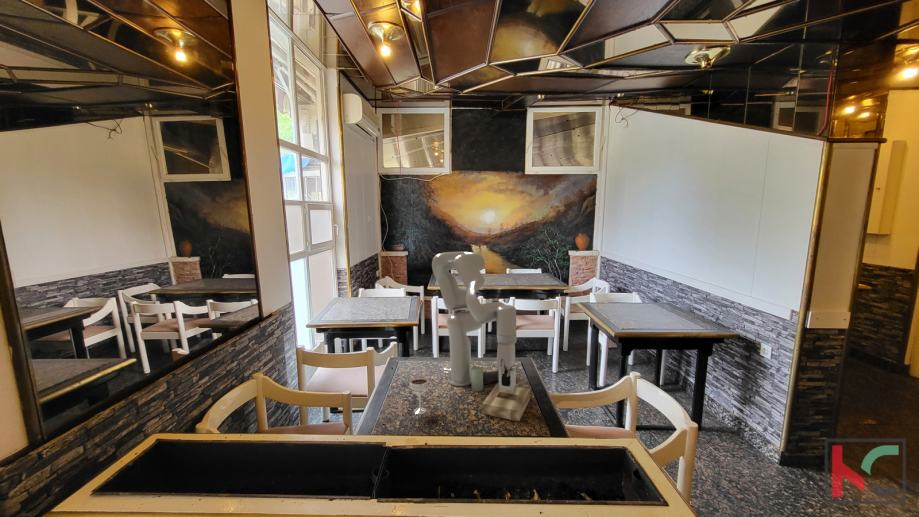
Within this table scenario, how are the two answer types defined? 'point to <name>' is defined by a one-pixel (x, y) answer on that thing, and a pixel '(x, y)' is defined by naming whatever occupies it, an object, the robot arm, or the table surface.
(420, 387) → the wineglass
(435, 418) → the table surface
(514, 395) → the socket block
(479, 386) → the round bit
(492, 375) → the flashlight
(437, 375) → the table surface
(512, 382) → the block
